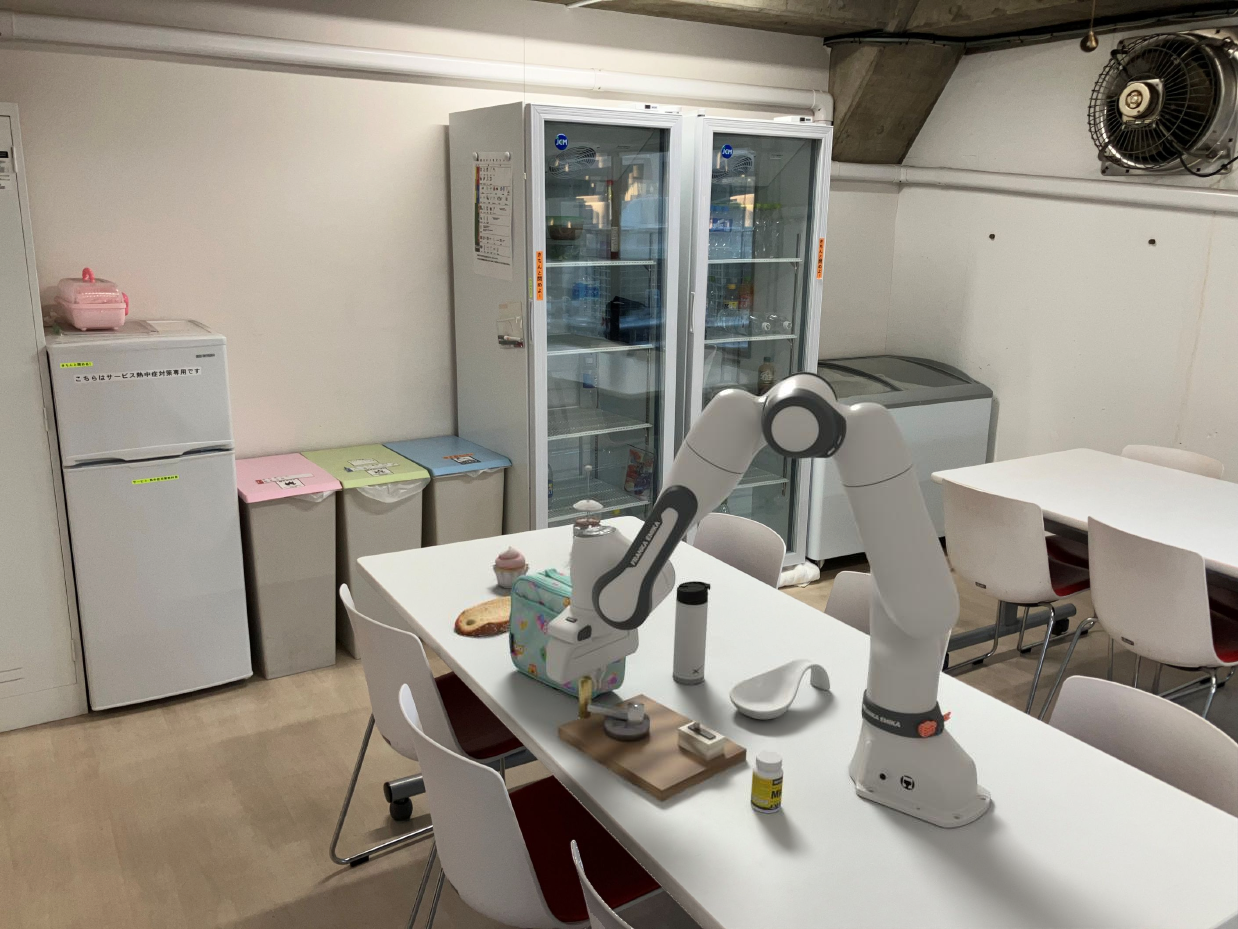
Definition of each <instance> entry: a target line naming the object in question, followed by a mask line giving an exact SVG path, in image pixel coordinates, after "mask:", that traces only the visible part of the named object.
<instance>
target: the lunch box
mask: <svg viewBox="0 0 1238 929" xmlns="http://www.w3.org/2000/svg"><path fill="white" fill-rule="evenodd" d="M510 589H511V591H510V596H511V612H510V616H509V620H510V628H509V630H508V645H509V653H510V659H511V662H512V664H513V666H514V667H515V668H516V669H517V670H518V671H519V672H521V673H523V674H525V675H526V676H528V677H531V678H532V679H534V680H536V681H538V682H541V683H543V684H545V685H548V686H550V687H552V688H555V689H558V690H560V691H563V692H564V693H566V694H569V695H571V696H574V697H576V698H579V678H580V677H579V678H576V679H574V680H572V681H570V682H567V683H565V684H560V683H557V682H555V681H553V680H551V679H550V678H549V677H548V675H547V672H546V655H547V645H548V642H549V640H550V638H551V637H552V635H550V634H549V633H548V624H549V623H550V622H551V621H552V620H554V619H555V618H556V617H557V616H558V615H560V614H561V613H562V612H563V611H564V610H565V609H566V608H567V607H568V606H570V596H571V593H572V583H571V580H570V575H568V574H565V573H562V572H559V571H557V569H556V568H555V567H552V568H548V569H544V571H543V570H541V571H539V572H536V573H535V572H534V573H529V574H526V575H521V576H519V577H518V578H517V579H516V580H515V582H514V584H513V586H512V588H510ZM626 659H627V656H626V657H624V658H622V659H619V660H617V661H615V662H612V663H610V664H608V665H606V672H605V674H604V676H603V678H602V680H601V689H599V690H597V691H594V692H592V691H591V700H593V699H595V698H596V697H597V696H598V695H600V694H603V693H604V694H605V693H607V692H610V691H615V690H618V689H620V688H621V687H622V686H623V684H624V682H625V681H624V680H625V676H626V675H625V674H626ZM583 676H584V675H583ZM583 676H581V677H583Z"/></svg>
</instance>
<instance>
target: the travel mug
mask: <svg viewBox="0 0 1238 929" xmlns="http://www.w3.org/2000/svg"><path fill="white" fill-rule="evenodd" d="M711 587H712V586H711V583H707V582H705V581H700V580H699V581H698V580H697V581H695V580H694V581H686V582H683V583H680V584H679V585H678V586H677V588H676V598H675V615H674V616H675V618H674V619H675V620H674V637H673V638H674V641H673V663H672V665H673V666H672V678H673V679H674V681H675V682H677V683H680V684H683V685H698V684H700V683H702V681H704V680H705V666H706V647H707V646H706V645H707V643H706V642H707V630H708V629H707V628H708V627H707V625H708V606H709V605H708V604H709V597H708V596H709V591H710V590H711Z"/></svg>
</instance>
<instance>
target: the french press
mask: <svg viewBox="0 0 1238 929" xmlns="http://www.w3.org/2000/svg"><path fill="white" fill-rule="evenodd" d="M584 470H585V471H587V493H589V492H590V490H589V479H590V471H593V467H592V466H591V465H586V466H585V468H584ZM572 507H573V508H574V509H575V510H576V511H578V512H585V513H586V512H587V513H586V516H579V517H576V518H575V519H574V524H572V525H573V526H572V540H574V538H575V537H576V536H577V535H578V534H579V533H580V532H582V531H583V530H585V529H588V528H592V527H595V526H602V524H600V523H601V519H600V518H598V517H593V516H590V515H591V514H592V513H594V516H596V512H599V511H601V510H602V509H603V507H604V506H603V505H602V504H601V503H599V502H597V501H595V500H592V499H583V500H579V501H578V502H576V503H574V504H572ZM590 513H591V514H590ZM568 555H569V557H571V551H570V552H569V553H568Z"/></svg>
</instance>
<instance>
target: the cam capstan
mask: <svg viewBox="0 0 1238 929" xmlns="http://www.w3.org/2000/svg"><path fill="white" fill-rule="evenodd" d="M591 683H592V679H591V678H589V677H587V676H583V677H580V678H579V697H578V706H577V707H578V708H577V709H578V710H577V711H578V714H577V715H578V718H583V719H587V718H590V717H591V714H592V713H599V714H604V715H605V717H604V732H605V734H606V735H607V736H608V737H610V738H612V739H615V740H618V741H626V742H630V741H638V740H641V739H643V738H645V737H646V736H648V734H649V732H650V718H649V716H648V715H647V714H645V713H644V704H643V703H642V702H638V701H632V702H629V703H628V704H627V709H625V708H620V707H615V706H612V705H609V704H605V703H599V702H596V701H592V699H591Z"/></svg>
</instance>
